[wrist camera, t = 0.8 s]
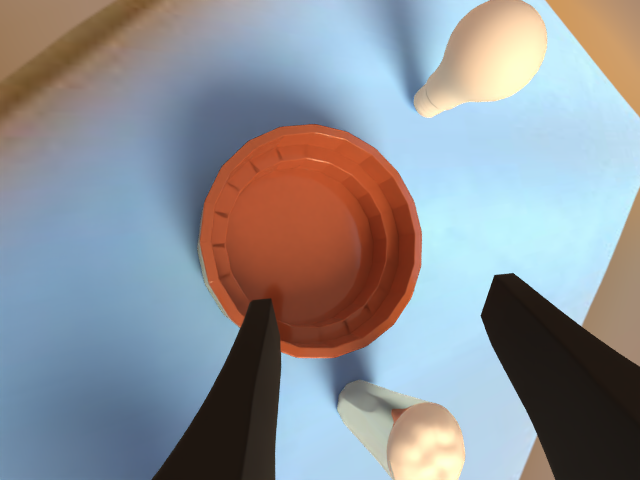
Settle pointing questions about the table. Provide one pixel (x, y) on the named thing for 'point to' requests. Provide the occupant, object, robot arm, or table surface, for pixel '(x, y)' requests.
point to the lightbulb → (486, 57)
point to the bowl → (311, 238)
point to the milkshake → (403, 432)
